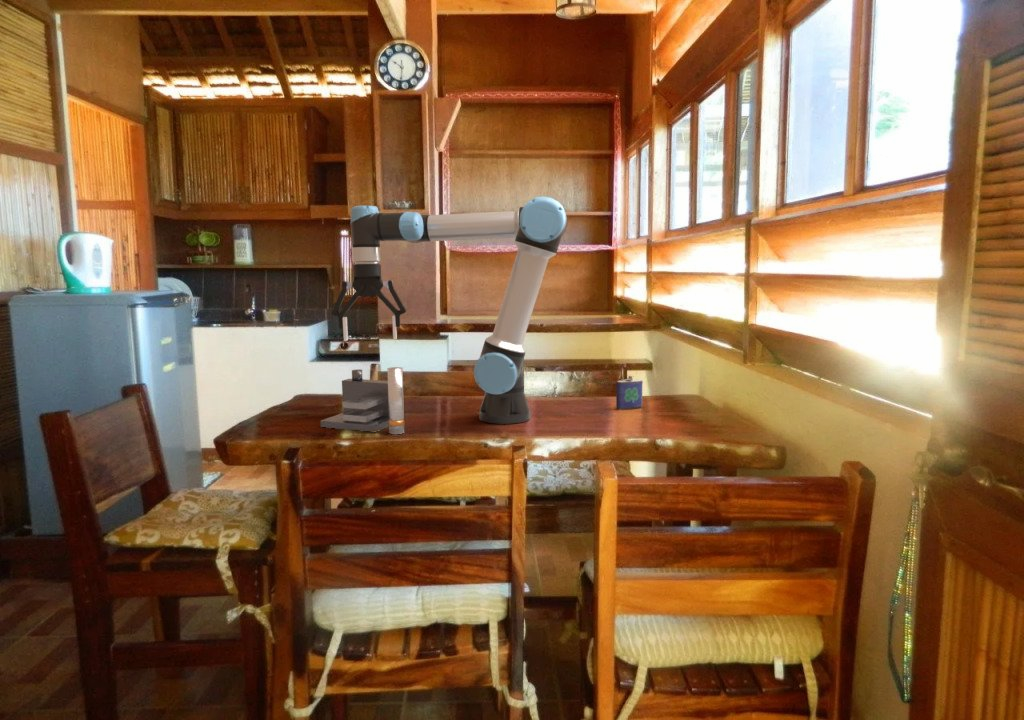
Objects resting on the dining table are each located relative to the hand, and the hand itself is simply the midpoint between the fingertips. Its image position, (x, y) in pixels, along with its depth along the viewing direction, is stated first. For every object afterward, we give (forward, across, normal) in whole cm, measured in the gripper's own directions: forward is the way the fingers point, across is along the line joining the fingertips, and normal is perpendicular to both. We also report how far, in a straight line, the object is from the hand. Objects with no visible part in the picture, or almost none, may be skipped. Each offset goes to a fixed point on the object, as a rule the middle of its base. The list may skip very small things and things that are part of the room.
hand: (370, 339), depth 191 cm
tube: (+25, -7, +10) cm, 28 cm away
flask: (+26, -78, -17) cm, 84 cm away
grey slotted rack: (+25, +4, -2) cm, 25 cm away
